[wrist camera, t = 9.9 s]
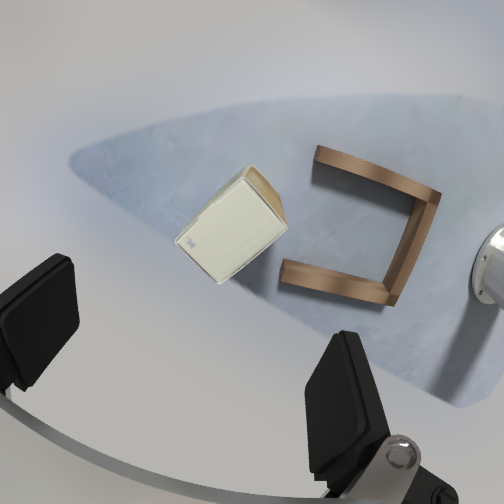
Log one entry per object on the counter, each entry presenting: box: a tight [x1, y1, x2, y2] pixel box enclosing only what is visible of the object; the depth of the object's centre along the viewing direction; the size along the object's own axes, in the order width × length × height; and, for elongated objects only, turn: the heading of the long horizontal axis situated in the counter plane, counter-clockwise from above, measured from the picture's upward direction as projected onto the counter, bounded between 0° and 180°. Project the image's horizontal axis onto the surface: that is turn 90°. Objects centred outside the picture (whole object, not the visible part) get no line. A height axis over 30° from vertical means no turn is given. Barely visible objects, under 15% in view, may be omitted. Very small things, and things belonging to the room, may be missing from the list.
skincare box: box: [174, 163, 288, 285], centre depth 23 cm, size 6×4×12 cm
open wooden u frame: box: [280, 145, 442, 307], centre depth 28 cm, size 14×14×2 cm
